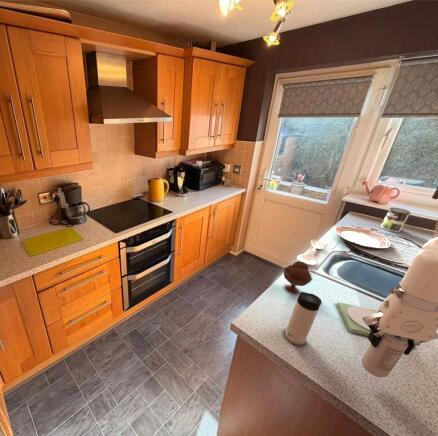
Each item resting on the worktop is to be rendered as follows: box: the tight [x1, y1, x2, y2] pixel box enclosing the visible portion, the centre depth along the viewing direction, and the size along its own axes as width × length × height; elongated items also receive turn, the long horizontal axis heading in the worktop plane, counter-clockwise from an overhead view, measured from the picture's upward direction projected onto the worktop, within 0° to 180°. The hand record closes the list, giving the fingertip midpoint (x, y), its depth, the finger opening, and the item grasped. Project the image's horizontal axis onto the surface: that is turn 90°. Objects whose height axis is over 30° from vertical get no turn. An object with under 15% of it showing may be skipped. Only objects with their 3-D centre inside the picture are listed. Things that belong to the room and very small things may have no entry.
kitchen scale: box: [336, 301, 380, 337], centre depth 88 cm, size 18×14×3 cm
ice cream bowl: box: [283, 260, 313, 295], centre depth 103 cm, size 11×11×15 cm
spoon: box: [296, 237, 329, 266], centre depth 132 cm, size 9×32×4 cm, turn 133°
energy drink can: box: [360, 333, 408, 378], centre depth 65 cm, size 6×6×15 cm
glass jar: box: [380, 207, 411, 233], centre depth 159 cm, size 10×10×14 cm
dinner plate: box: [334, 225, 392, 249], centre depth 147 cm, size 28×27×3 cm
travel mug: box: [284, 291, 322, 346], centre depth 79 cm, size 6×7×20 cm
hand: (387, 346), depth 64 cm, fingers closed on energy drink can, 6 cm apart
